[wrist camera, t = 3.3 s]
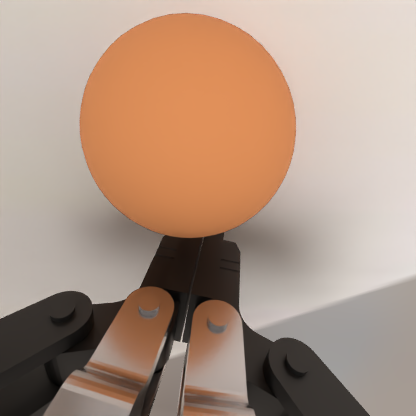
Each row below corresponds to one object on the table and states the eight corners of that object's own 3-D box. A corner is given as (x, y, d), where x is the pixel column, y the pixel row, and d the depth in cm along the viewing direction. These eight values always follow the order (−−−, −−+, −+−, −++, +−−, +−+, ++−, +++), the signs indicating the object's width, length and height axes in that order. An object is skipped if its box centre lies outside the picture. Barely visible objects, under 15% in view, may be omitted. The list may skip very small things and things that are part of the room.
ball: (180, 204, 12) (136, 307, 7) (100, 83, 10) (-44, 111, 5) (303, 149, 10) (360, 239, 5) (240, -16, 8) (232, -135, 3)
